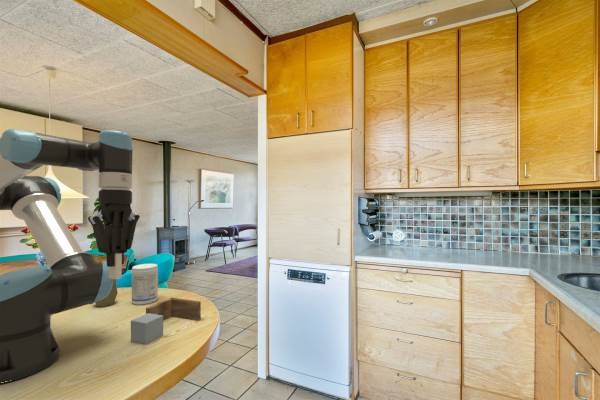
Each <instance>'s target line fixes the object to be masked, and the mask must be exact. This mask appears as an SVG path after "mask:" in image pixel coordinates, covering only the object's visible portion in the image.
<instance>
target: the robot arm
mask: <svg viewBox="0 0 600 400" xmlns="http://www.w3.org/2000/svg"><path fill="white" fill-rule="evenodd" d="M132 139H133V138H132V136H131V135H130V134H129V133H127V132H124V131H120V130H111V129H110V130H109V129H105V130H101V131H100V132H99V134H98V139H97V141H98V142H97V141H95V142H89V141H83V140H78V139H72V138H67V137H60V136H54V135H49V134H45V133H40V132H35V131H31V130H25V129H24V130H22V129H15V128H14V129H13V128H10V129H9V128H8V129H6V130H4V131H3V133H2V134H1V136H0V211H11V213H12V214H13V216H14V217H15V218H17V219H19V220H23V221H24V223H25V225H26V228H28V230H29V232H30V233H31V236H32V237H33V239H34V241H35V243H36V245H37V246H38V248H39V250H40V252H41V254H42V256H43V258H44V259H45V261H46V263H47V265H37V266H32V267H25V268H20V269H16V270H11V271H8V272H5V273H1V274H0V383H1V382H5V381H10V380H15V379H18V380H21V379H24V378H27V377H29V376H31V375H34V374H36V373H39V372H41V371H43V370H44V369H46V368H48V367H49V366H51V365H53V364H54V363H55V362H57V360H58V359H59V356H60V346H59V344H58V341H57V339H56V337H55V335H54V332H53V330H52V327H51V317H52V316H53V315H56V314H60V313H63V312H64V313H65V312H66V311H70V310H73V309H77V308H80V307H83V306H87V305H92V304H94V303H95V302H97V301H100V300H103V299H104V298H106V297H107V296H108V295H109V293H110V291H111V289H112V286H113V279H116V280H118V279H122V277H123V275H122V274H123V273H122V272H123V271H122V270H123V269H122V268H123V266H122V265H124V263H125V253H128V250H131V249H132V245H133V240H134V236H135V232H136V228H137V223H138V221H139V220H140V214H135V213H134V212H133V209H132V206H131V205H132V203H133V192H132V190H131V189H132V188H133V150H134V148H133V140H132ZM43 166H49V167H50V166H51V167H61V168H71V169H77V170H79V171H83V172H84V171H85V172H87V171H89V172H94V171H98V184H97V185H98V186H97V187H98V188H100V190H99V191H98V205H99V207H98V209H97V213H95V214H93V216H92V215H91V216H88V218H87V220H88V222H89V223H90V224H91V226H92V230H93V234H94V235H93V236H94V238H95V244H96V247H97V250H98V252H99V253H101V254H105V255H106V259H107V262H106V261H104V260H100V261H97V260H96V259H95V257H94V255H93V254H92V253H90V252H86V251H83V249H82V248H81V246H80V244H79V243H78V241H77V240H76V238H75V236H74V235H73V233H72V232H71V230H70V228H69V227H68V225H67V223H66V222H65V220H64V219H63V217H62V214H60V212H59V210H58V207H59V205H60V203H61V201H62V193H61V188H60V185H59V184H58V183H57V181H55V180H54V179H52V178H50V177H46V176H40V175H29V174H31V173H32V172H35V171H36V170H37V169H39V168H41V167H43ZM26 376H27V377H26ZM23 377H24V378H23ZM20 378H21V379H20ZM15 381H16V380H15Z"/></svg>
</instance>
